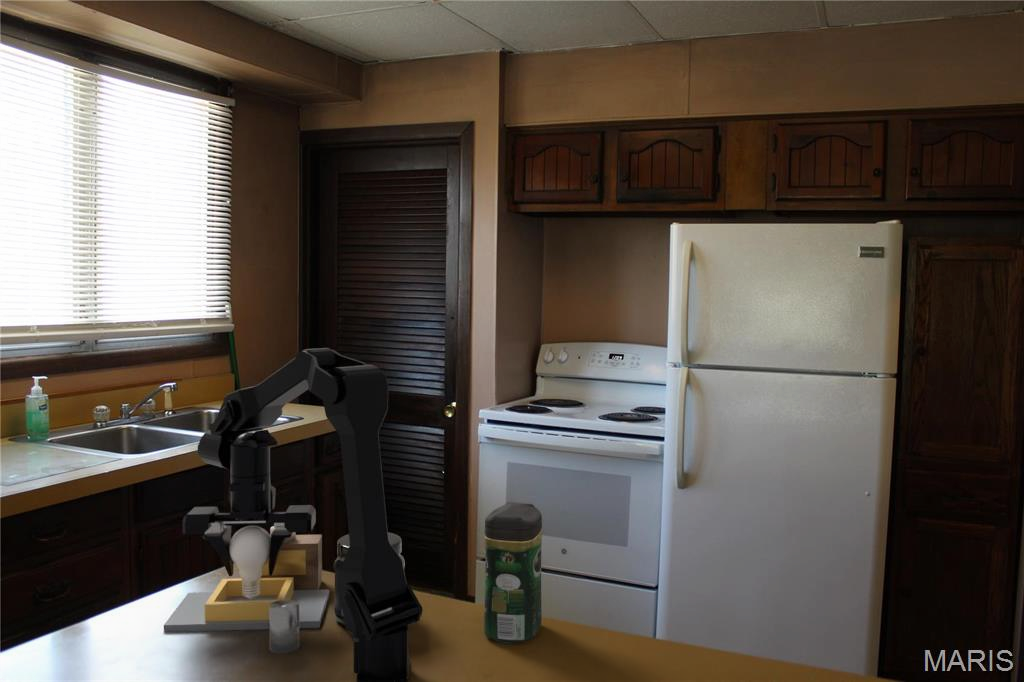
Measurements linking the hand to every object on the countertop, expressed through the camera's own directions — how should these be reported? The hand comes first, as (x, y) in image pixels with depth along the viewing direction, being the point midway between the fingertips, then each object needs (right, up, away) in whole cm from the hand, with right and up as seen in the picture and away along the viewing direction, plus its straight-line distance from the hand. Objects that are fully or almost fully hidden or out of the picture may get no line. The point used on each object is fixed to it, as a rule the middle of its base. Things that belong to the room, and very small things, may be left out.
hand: (251, 575), depth 130 cm
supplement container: (+18, -6, -1) cm, 19 cm away
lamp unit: (+2, -5, +12) cm, 13 cm away
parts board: (0, -6, 0) cm, 6 cm away
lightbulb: (0, -4, 0) cm, 4 cm away
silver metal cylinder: (+8, -7, -12) cm, 16 cm away
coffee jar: (+40, -7, -6) cm, 41 cm away
